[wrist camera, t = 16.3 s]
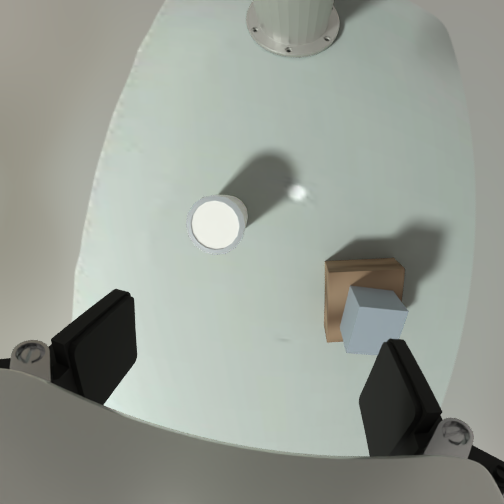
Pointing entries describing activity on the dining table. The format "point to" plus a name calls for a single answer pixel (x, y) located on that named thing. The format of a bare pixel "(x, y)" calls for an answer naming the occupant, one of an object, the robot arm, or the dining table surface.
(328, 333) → the walnut block
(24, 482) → the robot arm
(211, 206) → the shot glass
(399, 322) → the slate cube
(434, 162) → the dining table surface
